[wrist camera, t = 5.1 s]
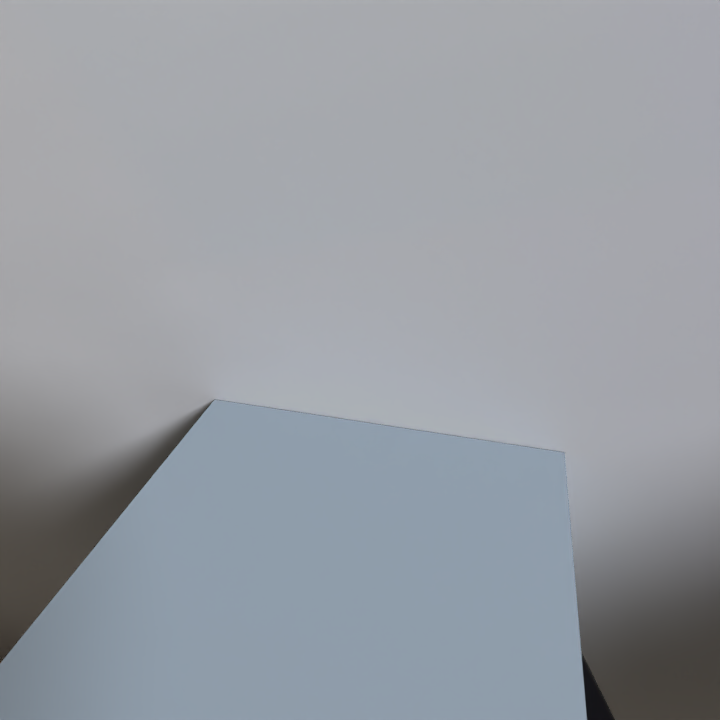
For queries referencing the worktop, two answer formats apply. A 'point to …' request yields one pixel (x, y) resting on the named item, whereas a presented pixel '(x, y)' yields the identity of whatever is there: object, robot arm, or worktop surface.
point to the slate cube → (318, 584)
